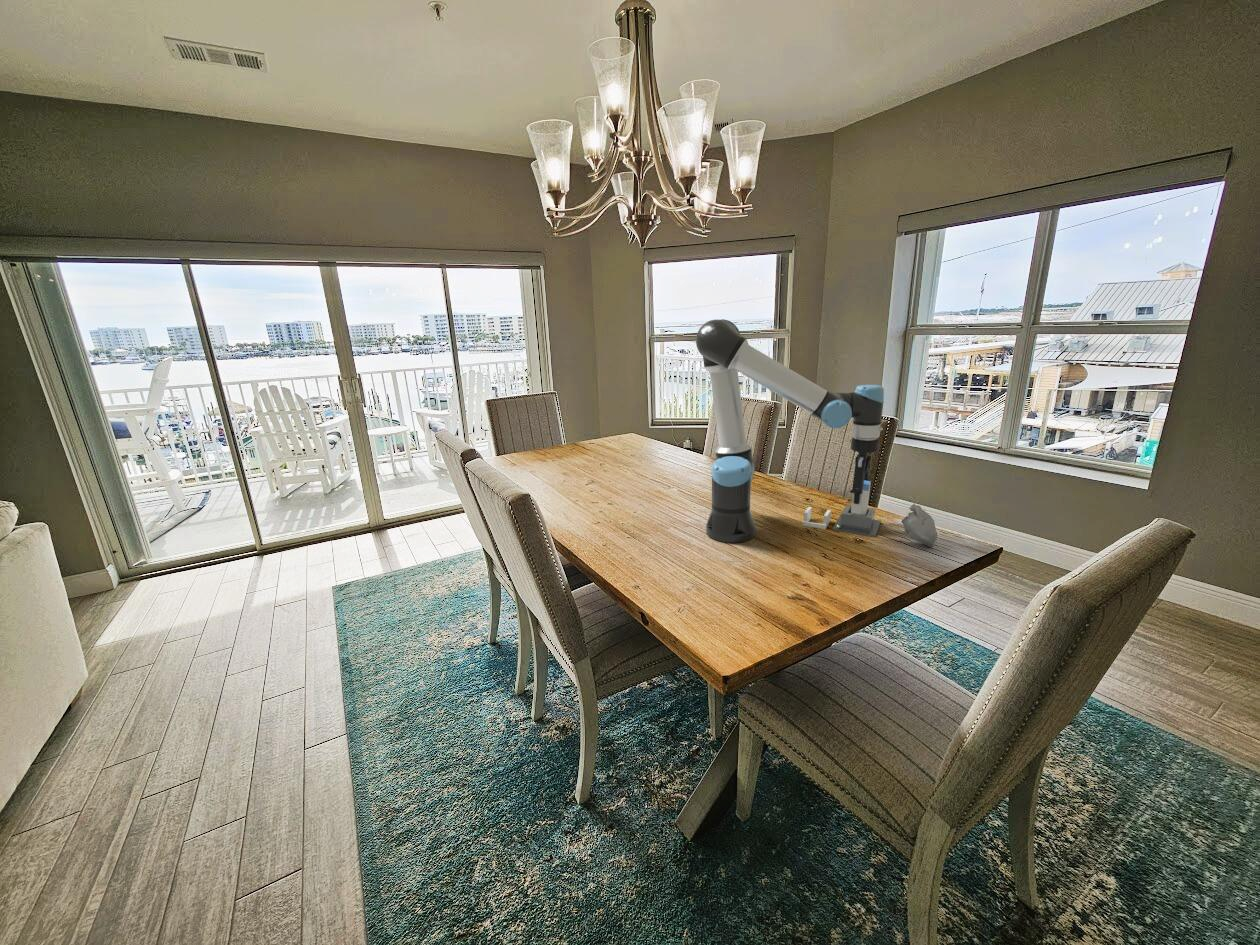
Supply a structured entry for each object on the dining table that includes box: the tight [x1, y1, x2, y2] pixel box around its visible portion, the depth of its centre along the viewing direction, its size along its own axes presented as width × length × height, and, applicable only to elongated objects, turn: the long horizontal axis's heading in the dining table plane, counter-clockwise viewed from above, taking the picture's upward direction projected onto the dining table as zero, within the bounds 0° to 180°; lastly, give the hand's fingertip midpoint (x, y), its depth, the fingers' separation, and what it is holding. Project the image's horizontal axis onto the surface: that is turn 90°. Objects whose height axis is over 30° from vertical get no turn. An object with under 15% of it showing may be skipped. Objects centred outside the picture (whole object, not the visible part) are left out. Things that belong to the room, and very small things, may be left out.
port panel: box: [832, 504, 882, 538], centre depth 150 cm, size 12×13×5 cm
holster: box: [801, 506, 832, 530], centre depth 154 cm, size 7×7×4 cm
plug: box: [853, 480, 872, 516], centre depth 149 cm, size 4×4×14 cm
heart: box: [901, 504, 938, 548], centre depth 135 cm, size 10×10×12 cm
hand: (858, 507), depth 149 cm, fingers open, 10 cm apart
